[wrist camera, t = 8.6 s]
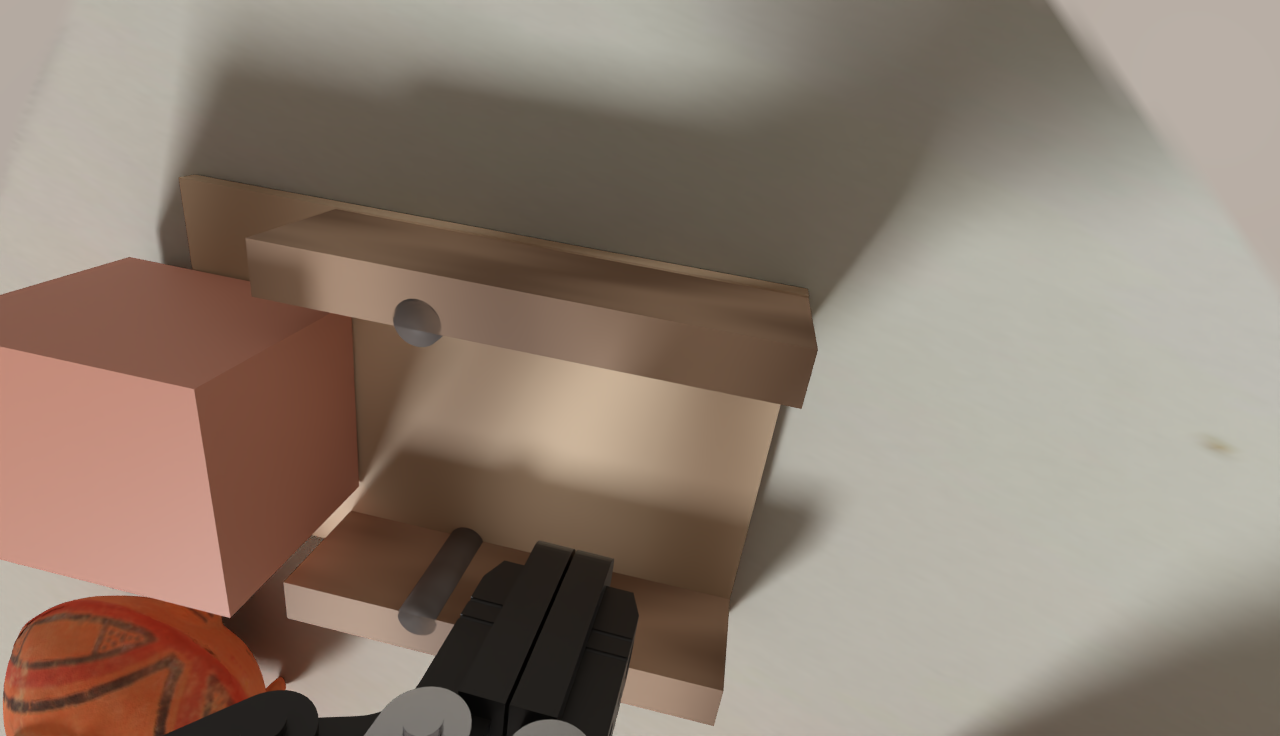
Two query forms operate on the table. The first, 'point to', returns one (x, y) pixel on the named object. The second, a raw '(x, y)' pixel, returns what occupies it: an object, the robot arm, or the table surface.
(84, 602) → the pot
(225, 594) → the block
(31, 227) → the table surface
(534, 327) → the tan wooden frame
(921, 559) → the table surface
